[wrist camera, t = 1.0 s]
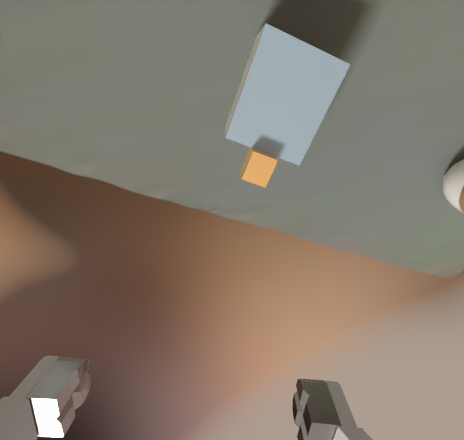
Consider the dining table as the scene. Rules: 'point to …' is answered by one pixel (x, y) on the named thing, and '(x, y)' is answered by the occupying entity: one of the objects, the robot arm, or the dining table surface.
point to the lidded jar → (455, 185)
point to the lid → (282, 101)
